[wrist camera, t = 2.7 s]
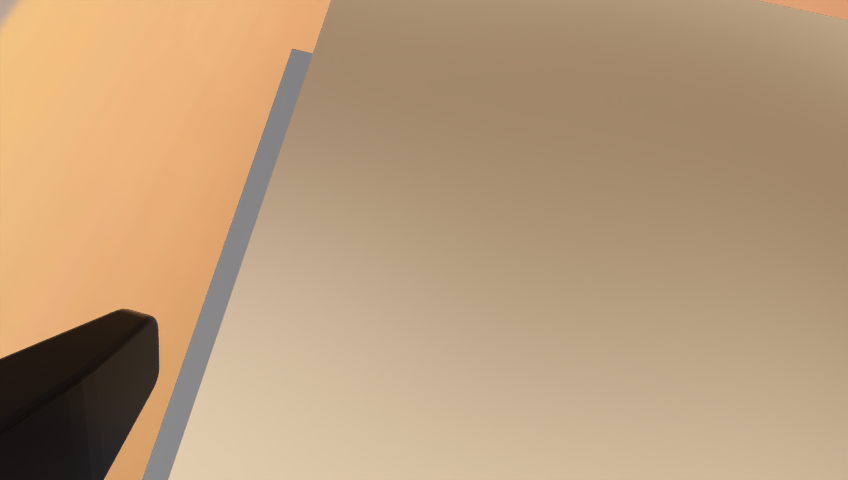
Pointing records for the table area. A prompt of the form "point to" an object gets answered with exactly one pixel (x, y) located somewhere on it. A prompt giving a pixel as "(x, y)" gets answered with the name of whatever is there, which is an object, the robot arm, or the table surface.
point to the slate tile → (227, 270)
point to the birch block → (546, 251)
